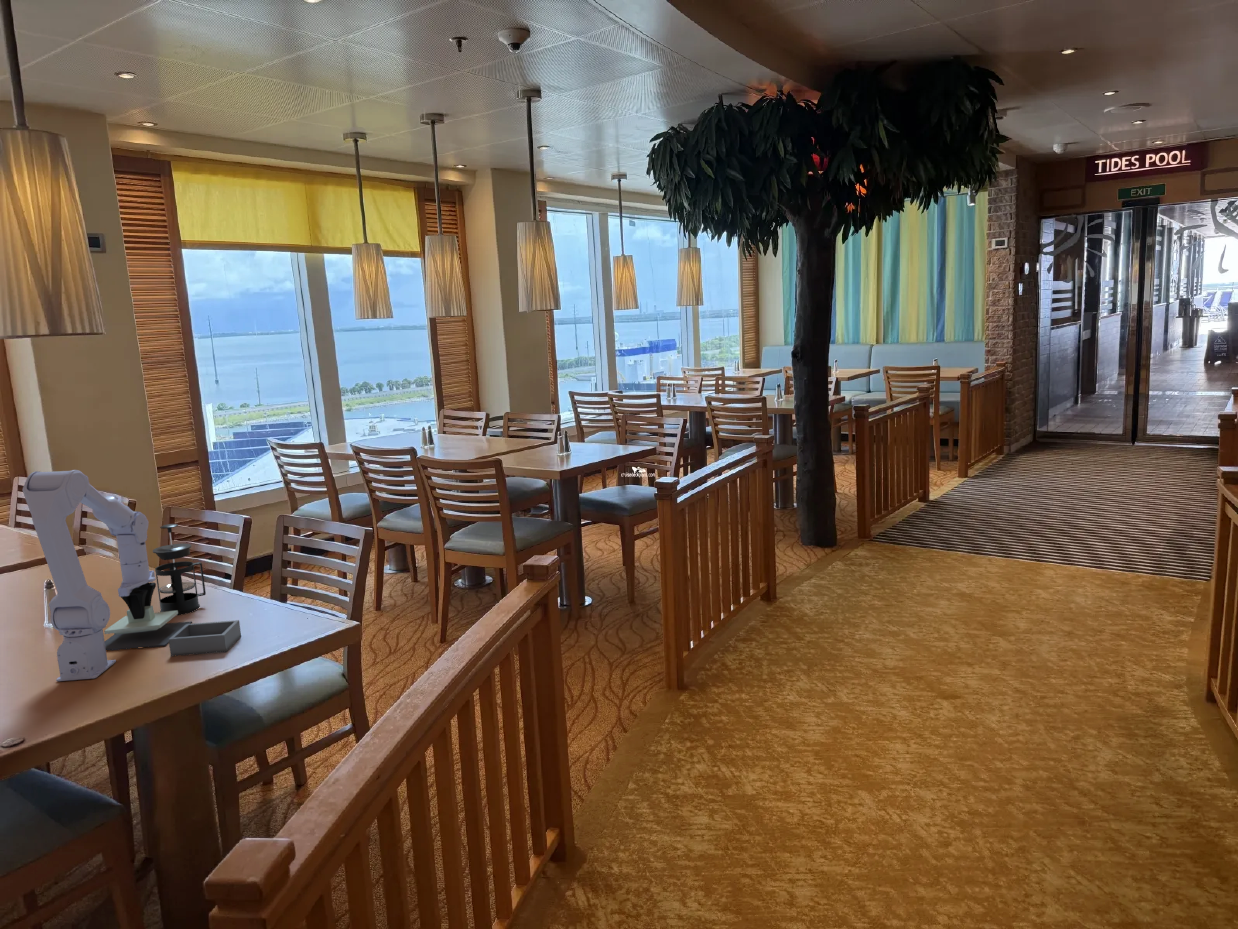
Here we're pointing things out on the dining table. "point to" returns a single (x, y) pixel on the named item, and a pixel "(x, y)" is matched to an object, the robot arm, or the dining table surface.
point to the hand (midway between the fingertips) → (141, 616)
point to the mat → (144, 637)
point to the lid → (141, 622)
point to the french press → (177, 577)
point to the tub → (205, 638)
